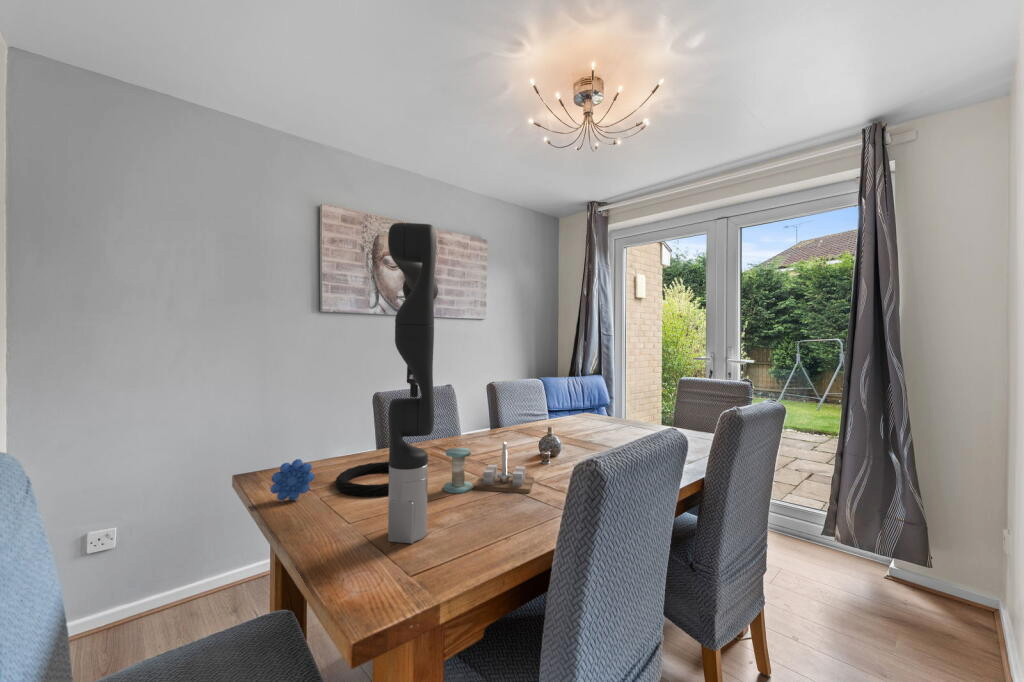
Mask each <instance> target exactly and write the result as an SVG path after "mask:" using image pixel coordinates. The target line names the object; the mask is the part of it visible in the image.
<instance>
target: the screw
mask: <svg viewBox="0 0 1024 682" xmlns="http://www.w3.org/2000/svg"><path fill="white" fill-rule="evenodd" d="M507 445H508V444H507V442H505V441H503V443H502V449H501V450H502V451H501V472H497V477H498V478H500V482H502V483H507V482H508V479H509V478H510V477H512V476H513V474H511V473H510V472H508V450H507Z"/></svg>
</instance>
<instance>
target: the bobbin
mask: <svg viewBox="0 0 1024 682" xmlns="http://www.w3.org/2000/svg"><path fill="white" fill-rule="evenodd" d="M471 455H472V450H471V449H470V448H468V447H452V448H448V449H446V450H445V456H446V457H450V458H451V459H452V460H451V481H448V482H446V483H444V485H443V490H444V492H447V493H449V494H466V493H469V492H470V491H472V490H473V483H472V482H470V481H466V480H465V478H466V477H465V469H466V464H465V463H466V462H465V461H466V459H465V458H466V457H470V456H471Z"/></svg>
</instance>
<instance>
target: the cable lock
mask: <svg viewBox="0 0 1024 682" xmlns="http://www.w3.org/2000/svg"><path fill="white" fill-rule="evenodd" d="M377 473H378V474H379V473H389V461H383V462H373V463H372V462H370V463H366V464H359V465H357V466H356V465H355V466H353V467H350V468H347V469H346V470H344V471H342V472H340V473H339V475H338V476H337V477H335V478H336V479H335V481H334V484H335V488H336V489H337V490H338V491H339V492H341V493H343V494H346V495H350V496H354V497H363V498H364V497H368V498H370V497H374V498H375V497H381V496H389V482H387V483H386V482H385V483H381V484H360V483H354V482H351V481H350V480H352V479H354V478H357V477H361V476H365V475H369V474H377Z"/></svg>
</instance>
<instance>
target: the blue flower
mask: <svg viewBox="0 0 1024 682" xmlns="http://www.w3.org/2000/svg"><path fill="white" fill-rule="evenodd" d="M312 467H313V466H312V464H311V463H310V462H305V463H303V461H302V459H301V458H297V459H295V460H294V461H292V462H291V463H290V462H284V463H282V464H281V465H280V467H279V471H276V472H274V473H273V474H272V476H271V482H273V484H272V485H271V487H270V492H271V494H274V495H275V494H276V495H277V496H276V499H277V500H278V501H284V500H286V499H287V498H288V499H289V500H290V501H296V500H297V499H298V498H299V497H300V494H306V493H307V492H309V490H310V489H311V488H310V486H311V485H310V483H312V482H313V481H314V480H315V473H314V472H311V470H312Z"/></svg>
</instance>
